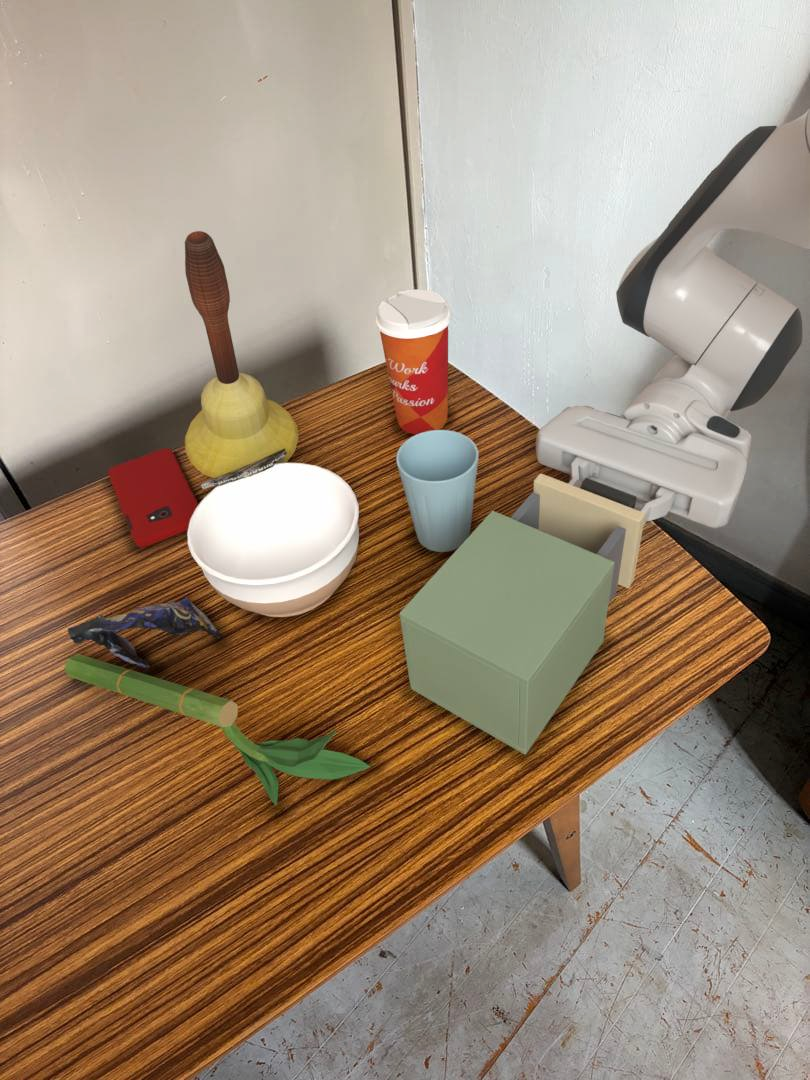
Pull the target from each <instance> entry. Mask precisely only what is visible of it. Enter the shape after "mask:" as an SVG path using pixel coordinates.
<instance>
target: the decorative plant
mask: <svg viewBox="0 0 810 1080" xmlns="http://www.w3.org/2000/svg"><path fill="white" fill-rule="evenodd" d="M65 662H66V663H65V665H64V668H63V670H64V671H65V673H66V675H67V676H68V677H69V678H71V679H75V680H77V681H80V682H83V683H87V684H90V685H93V686H96V687H99V688H102V689H104V690H108V691H111V692H113V693H117V694H120V695H121V696H126V697H130V698H132V699H135V700H139V701H141V702H144V703H147V704H150V705H154V706H156V707H159V708H162V709H165V710H167V711H170V712H171V711H172V712H175V713H178V714H180V715H182V716H184V717H189V718H193V719H195V720H198V721H201V722H205V723H208V724H211V725H214V726H217V727H219V728H220V729H221V731H222V732H223V733H224V734H225V736H226V738H227V740H229V741H230V742H231V743H232V746H234V747H235V748H236V750H237V751H238V752H239V753H240V755H241V756H242V758H243V761H244V763H245V765H246V766H248V767H249V768H251V769H252V770H253V771H254V773H255V775H256V776H257V778H258V779H259V780H260V782H261V785H262V786H263V788H264V790H265V791H266V792H265V793H267V795H268V797H269V799H270V800H271V803H273V804H274V805H275V806H276V807H277V805H278V799H279V781H278V778H277V775H276V772H275V771H274V769H276V770H278V771H280V772H281V773H284V774H287V775H290V776H293V777H298V778H307V779H312V780H313V779H314V780H338V779H341V778H344V777H345V778H346V777H348V776H352V775H354V774H357V773H359V772H363V771H364V770H367V769H369V768H371V765H370V764H369V763H366V762H365V761H363V760H361V759H359V758H357V757H354V756H352V755H349V754H347V753H344V752H340V751H335V750H329V749H326V748H325V747H326V745H327V744H328V743H330V741H331V739H332V738H333V737H334V736H335V734H336V733H337V730H335V729H334V730H332V731H331V732H330V733H329V734H328V735H323V736H322V735H321V736H318V737H316V738H313V739H311V740H309V739H308V740H307V739H304V738H299V737H296V738H292V739H281V740H279V739H278V740H277V739H276V740H275V739H274V740H266V741H262V742H253V741H252V740H250V739H249V738H248V737H246V736H245V734H243V733H242V731H241V730H240V729H239V727H238V726H237V724H236V723H235V721H236V719H237V718H238V713H239V712H238V710H239V708H238V705H239V704H238V703H236V702H234V701H233V700H231V699H228V698H225V697H221V696H218V695H215V694H212V693H208V692H204V691H201V690H200V689H197V688H196V687H189V686H185V685H182V684H178V683H175V682H172V681H169V680H165V679H162V678H160V677H156V676H152V675H149V674H145V673H143V672H140V671H136V670H135V669H131V668H130V669H129V668H126V667H123V666H119V665H116V664H113V663H110V662H106V661H103V660H99V659H96V658H94V657H89V656H86V655H83V654H81V653H75V654H73V655H71V656H70V657H68V658H67V659H66V661H65ZM324 748H325V749H324ZM273 768H274V769H273Z"/></svg>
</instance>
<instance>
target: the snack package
mask: <svg viewBox="0 0 810 1080" xmlns="http://www.w3.org/2000/svg"><path fill="white" fill-rule="evenodd" d="M112 612H113V613H115V612H116V611H115V610H113V611H112ZM112 612H111V611H109V614H112ZM107 614H108V613H107V612H106V613H105V615H107ZM126 629H128V630H130V629H149V630H159V631H164V633H171V634H170V636H172V637H175V636H176V635H178V636H180V635H186V634H189V633H191V632H193V631H202V632H203V631H204V632H206V633H208V634H209V635H211V636H212V637H213V638H216V639H217V640H222V639H223V636H222V634H221V633H220V631H219V630H218V629H217V627H216V626H215V625H214V624H213V623H212V621H211V620H210V619H209V617H208V616H207V615H206V614H205V613H204V612H203V611H201V610H200V609H199V608H198V607H197V606H196V605H195V603H193V602H192V601H191V600H190V599H189V597H188V596H185V597H184V599H182V600H180V601H170V602H165V603H159V604H151V605H147V606H144V607H143V606H142V607H140V606H136V607H135V609H134V610H132V611H130V612H128V613H123V614H122V613H121V614H118V615H114V616H111V617H107V618H106V617H105V616H104V613H103V614H99V615H97V616H96V617H94V618H91V619H90V620H86V621H85V622H82V623H80V624H78V625H74V626H70V627H68V628H67V633H68V635H69V638H70V639H71V640H72V642H73V643H74V644H77V645H78V644H82V642H84V641H92V642H95V644H97V645H98V646H103V647H105V648H106V649H107V650H108V651H109V652H111V654H113V655H114V656H115V657H118V658H120V659H122V660H123V661H124V662H126V663H127V662H128V663H129V664H131V665H136V666H138V667H139V668H144V669H145V670H146V671H147V670H148V669H150V667H151V662H150V661H147V660H145V659H144V658H141V657H140V656H139V655H137V653H136V652H137V651H136V649H135V647H134V646H133V645H132V644H131V642H130V641H129V639H127V638H125V637H124V636H121V635H119V634H118V632H120V631H123V630H126ZM180 645H181V646H182V647H186V646H187V645H186V644H184V643H181V644H180ZM172 656H173V657H175V654H172ZM156 666H157V667H158V666H159V664H157V665H156Z"/></svg>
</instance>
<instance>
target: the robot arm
mask: <svg viewBox="0 0 810 1080" xmlns="http://www.w3.org/2000/svg"><path fill="white" fill-rule="evenodd" d="M731 229H734V230H740V231H741V230H742V231H748V232H753V233H756V234H760V235H764V236H767V237H770V238H774V239H776V240H780V241H782V242H785V243H787V244H790V245H793V246H796V247H798V248H801V249H804V250H807V251H810V107H809V108H808V109H807V111H806V112H805V113H804V114H802V115H800V116H799V117H798V118H796V119H794V120H792V121H790V122H787V123H784V124H781V125H778V126H777V125H762V126H761V125H760V126H758V127H756V128H754V129H752V130H751V131H750V132H749V133H747V134H746V135H745V136H743V137H742V138H741V139H740V140H739V141H738V142H737V143H736V144H735V145H734V146H733V147H732V148H731V149H730V150H729V152H728V153H727V154H726V155H725V157H723V159H722V161H720V163H719V164H717V166H716V167H714V168H713V170H711V171H710V172H709V174H708V175H707V176H706V177H705V179H703V180H702V182H701V183H700V185H699V186H698V187H697V188H696V189H695V191H694V192H693V193H692V195H691V196H690V197H689V198H688V200H687V201H686V202H685V203H684V204H683V205H682V207H681V208H680V209H679V210H678V211H677V213H676V214H675V215H674V217H673V218H672V219H671V220H670V221H669V223H668V225H667V227H666V228H665V229H664V230H663V232H662V233H661V234H660V235H659V236H657V237H656V238H655V239H653V240H652V241H651V242H649V243H648V244H647V245H646V246H645V247H643V248H642V249H641V250H640V252H638V253H637V254H636V256H635V257H634V258H633V259H632V260H631V261H630V263H629V264H628V266H627V267H626V269H625V271H624V272H623V274H622V276H621V278H620V281H619V284H618V288H617V290H616V291H615V295H616V303H617V307H618V312H619V316H620V318H621V321H622V323H623V324H624V325H626V326H628V327H629V328H631V329H633V330H635V331H637V332H638V333H641V334H642V335H644V336H646V337H647V338H651V339H653V340H654V341H656V342H657V343H658V344H660V345H662V346H663V347H664V348H666V349H667V350H669V351H671V352H672V353H674V354H673V355H672V356H671V357H670V358H669V359H668V360H667V361H666V362H665V363H664V364H663V366H661V368H660V369H659V370H658V371H657V373H656V374H655V375H654V377H653V379H652V381H651V382H650V383H649V384H648V385H646V386H645V387H644V388H643V389H642V390H641V391H640V392H639V393H637V396H636V397H635V398H634V399H633V400H632V401H631V402H630V404H629V405H628V406H627V407H626V408H625V409H624V411H622V413H621V414H620V416H619V415H616V414H613V413H610V412H607V411H602V410H599V409H595V407H592V406H589V405H574V406H567V407H565V408H564V409H563V410H562V411H561V412H560V413H559V414H557V415H555V416H554V417H553V418H552V419H550V420H549V421H548V422H546V423H545V424H544V425H543V426H542V427H541V428H540V429H539V430H538V432H537V434H536V438H535V439H536V440H535V456H536V459H537V462H538V463H539V464H541V465H543V466H545V467H548V468H550V469H553V470H556V471H559V472H561V473H564V474H567V475H569V482H568V483H567V484H570V485H572V486H575V487H578V488H580V487H581V484H582V482H583V481H584V479H585V478H588V479H591V480H594V481H597V482H599V483H602V484H605V485H607V486H610V487H613V488H615V489H618V490H621V491H623V492H626V493H629V494H631V495H634V496H636V502H635V503H634V505H633V506H632V508H633V509H635V510H638V511H640V512H643V513H645V519H644V525H643V527H644V526H646V524H647V522H651V521H654V520H657V519H661V518H663V517H666V516H667V515H668V513H671V514H673V515H675V516H679V517H682V518H684V519H687V520H689V521H692V522H696V523H697V524H700V525H703V526H705V527H708V528H709V529H710V528H711V529H719V528H722V527H724V526H727V525H728V524H729V522H730V521H731V518H732V516H733V514H734V511H735V509H736V506H737V503H738V500H739V498H740V493H741V491H742V488H743V487H742V486H743V483H744V479H745V476H746V471H747V467H748V463H747V462H748V458H749V454H750V450H751V443H752V435H751V433H750V432H749V431H748V430H747V429H745V428H743V427H742V426H739V425H738V424H736V423H734V422H732V421H730V420H729V419H727V418H728V417H729V415H730V414H731V413H732V412H735V411H740V410H743V409H746V408H749V407H751V406H754V405H756V404H757V403H758V402H759V401H760V400H762V399H763V398H764V396H766V395H767V393H768V392H769V391H770V390H771V389H772V388H773V386H774V385H775V384H776V383H777V381H778V379H779V378H780V377H781V375H782V374H783V371H784V370H785V369H786V367H787V365H788V364H789V363H790V361H792V359H793V357H794V356H795V355H796V354H797V352H798V350H799V349H800V347H801V345H802V343H803V319H802V318H803V317H802V314H801V311H800V308H798V307H796V306H795V305H794V304H793V303H792V302H790V301H789V300H788V299H786V298H785V297H782V296H781V295H780V294H778V293H776V292H775V291H773V290H772V289H770V288H768V287H767V286H765V285H764V284H762V283H761V282H758V281H757V280H755V279H753V278H752V277H750V276H749V275H747V274H746V273H744V272H743V271H740V270H739V269H738V268H736V267H735V266H734V265H731V264H730V263H728V262H727V261H726V260H724V259H722V258H721V257H719V256H718V255H717V254H715V253H714V252H713V251H712V250H710V248H709V247H707V245H708V244H709V243H710V242H711V241H712V240H713V239H714V238H715V237H716V236H717V234H719V233H720V232H721V231H723V230H731Z"/></svg>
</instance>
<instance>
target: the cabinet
mask: <svg viewBox="0 0 810 1080" xmlns="http://www.w3.org/2000/svg"><path fill="white" fill-rule="evenodd" d="M614 564H615V562H614V561H611V560H609V559H606V558H604V557H602V556H599V555H597V554H595V553H592V552H590V551H587V550H585V549H583V548H580V547H578V546H576V545H573V544H571V543H568V542H566V541H564V540H561V539H559V538H557V537H554V536H552V535H549V534H547V533H545V532H542V531H540V530H538V529H535V528H533V527H530V526H528V525H526V524H523V523H521V522H519V521H516V520H514V519H511V518H510V517H509V516H507V515H504V514H502V513H499V512H497V511H495V510H491V511H490V512H489V514H488V515H486V517H485V518H484V519H483V520H482V522H481V523H479V524H478V526H477V527H476V528H475V529H474V530H473V531H472V532H471V533H470V534H469V537H468V538H467V539H466V540H465V541H464V542H463V544H462V545H461V546H460V547H459V548H457V549H455V551H454V552H453V553H452V554H451V556H450V557H449V558H447V560H446V561H445V562H444V563H443V564H442V565H441V567H440V568H438V570H437V571H436V572H435V573H434V574H433V576H432V577H431V578H430V579H429V580H428V581H426V583H425V584H424V585H423V586H422V588H420V590H418V592H417V593H416V594H415V596H413V597H412V599H410V601H409V602H408V603H407V604H406V605H405V606H404V607H403V609H402V610H400V612H399V620H400V627H401V634H402V640H403V646H404V647H403V648H404V653H405V660H406V666H407V674H408V680H409V686H410V690H412V691H414V692H415V693H417V694H419V695H420V696H423V697H424V698H425V699H428V700H429V701H431V702H433V703H434V704H436V705H438V706H440V707H441V708H443V709H445V710H447V711H448V712H450V713H451V714H454V715H455V716H457V717H459V718H460V719H462V720H464V721H466V722H467V723H469V724H470V725H473V726H474V727H476V728H478V729H479V730H481V731H483V732H484V733H487V734H489V735H490V736H492V737H493V738H495V739H497V740H498V741H500V742H502V743H504V744H505V745H507V746H509V747H510V748H512V749H514V750H516V751H517V752H519V753H521V754H523V755H527V754H528V752H529V751H530V749H531V748H532V747H533V746H534V744H535V742H536V740H537V739H538V738H539V737H540V735H541V733H542V732H543V731H544V729H545V728H546V726H547V724H548V723H549V721H551V719H552V717H553V715H554V714H555V713H556V711H557V710H558V709H559V707H560V705H561V704H562V702H563V701H564V700H565V698H566V697H567V695H568V694H569V692H570V691H571V689H572V688H573V686H574V685H575V683H576V682H577V680H578V679H579V678H580V676H581V675H582V674H583V672H584V670H585V669H586V667H587V666H588V664H589V663H590V661H591V660H592V659H593V658H594V656H595V654H596V653H597V652H598V650H599V648H600V647H601V645H602V644H603V642H604V640H605V639H604V638H605V631H606V624H607V618H608V610H609V605H610V603H609V598H610V591H611V584H612V577H613V570H614Z"/></svg>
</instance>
